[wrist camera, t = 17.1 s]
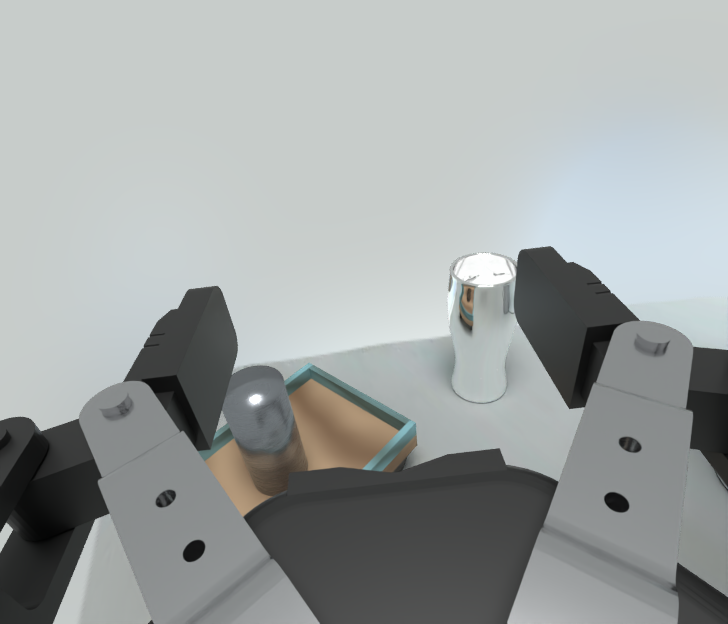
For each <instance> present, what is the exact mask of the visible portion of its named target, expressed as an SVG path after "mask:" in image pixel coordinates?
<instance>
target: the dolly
mask: <svg viewBox="0 0 728 624" xmlns="http://www.w3.org/2000/svg"><path fill="white" fill-rule="evenodd" d="M284 383H285V386H286V390H287V393H288V396H289V400H290V403H291V407H292V410H293V413H294V417H295V420H296V424H297V427H298V431H299V434H300V437H301V441H302V444H303V448H304V451H305V454H306V458H307V461H308V471H310V470H318V469H327V468H335V467H346V468H355V469H364V470H373V471H382V472H393V473H394V472H400V471H401V470H402V468H403V466H404V464H405V461H406V457H407V456H408V455H409V453H410V452H411V451H412V450H413V449H414V448H415V447H416V446H417V436H416V423H415V422H413V421H411V420H410V419H408V418H406V417H404V416H403V415H401V414H399V413H397V412H395V411H394V410H392V409H390V408H388V407H387V406H385V405H383V404H381V403H380V402H378V401H376V400H374V399H372V398H371V397H369V396H367V395H365V394H364V393H362V392H360V391H358V390H356V389H355V388H353V387H351V386H349V385H348V384H346V383H344V382H342V381H340V380H339V379H337V378H335V377H333V376H332V375H330V374H328V373H326V372H325V371H323V370H321V369H319V368H317V367H316V366H314V365H312V364H310V363H308V364H307V365H305V366H304V367H303V368H301V369H300V370H299V371H297V372H296V373H295V374H293V375H292V376H291V377H289V378H288V379H287V380H285V381H284ZM198 453H199V454H200V455H201V457H202V458H203V460H204V461H205V463H206V464H207V466H208V467H209V469H210V470H211V471H212V473H213V474H214V476H215V477H216V479H217V480H218V482H219V483H220V485H221V486H222V487H223V489H224V490H225V492H226V493H227V495H228V496H229V498H230V499H231V501H232V502H233V503H234V505H235V506H236V508H237V509H238V511H239V512H240V514H241V515H242V516H244V515H245V514H247V513H248V512H249V511H250V510H252V509H253V508H254V507H256V506H257V505H259V504H260V503H262V502H264V501H265V500H267V499H269V498H271V497H273V496H268V495H265V494H262V493H261V492H259V491H258V490H257V489H256V487H255V485H254V483H253V481H252V479H251V476H250V474H249V472H248V469H247V467H246V465H245V462H244V460H243V458H242V455H241V453H240V451H239V448H238V446H237V444H236V441H235V439H234V437H233V434H232V432H231V430H230V427H229V425H228V423H227V424H226V425H225V426H223V427H222V428H221V429H219V430H218V431H217V432H215V436H214V439H213V443H212V447H211V450H203V451H198Z"/></svg>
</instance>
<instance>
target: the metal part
mask: <svg viewBox="0 0 728 624" xmlns="http://www.w3.org/2000/svg"><path fill="white" fill-rule="evenodd" d="M222 411H223V413H224V416H225V418H226V420H227V423H228V425H229V427H230V430H231V432H232V434H233V437H234V439H235V441H236V444H237V446H238V448H239V451H240V453H241V455H242V458H243V460H244V462H245V465H246V467H247V469H248V472H249V474H250V476H251V479H252V481H253V483H254V485H255V487H256V489H257V490H258V491H259V492H261V493H262V494H265V495H268V496H275V495H277V494H279V493H281V492H284V491H286V490H288V480H289V473H292V472H301V471H308V461H307V458H306V454H305V451H304V448H303V444H302V441H301V437H300V434H299V431H298V427H297V424H296V420H295V417H294V413H293V410H292V407H291V403H290V400H289V396H288V393H287V390H286V386H285V383H284V379H283V376H282V374H281V373H280V372H279V371H278V370H276V369H275V368H272V367H269V366H252V367H248V368H245V369H242V370H240V371H238V372H236V373H234V374H233V375H231V378H230V382H229V385H228V389H227V393H226V396H225V400H224V403H223V407H222Z"/></svg>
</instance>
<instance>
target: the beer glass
mask: <svg viewBox="0 0 728 624" xmlns="http://www.w3.org/2000/svg"><path fill="white" fill-rule="evenodd" d="M516 271H517V262H516V261H515V260H513V259H512V258H509V257H507V256H504V255H501V254H496V253H473V254H468V255H465V256H462V257H460V258H458V259H456V260H455V261H454V262H453V263H452V264H451V266H450V276H449V287H448V302H447V305H448V320H449V328H450V332H451V337H452V342H453V346H454V352H455V366H454V370H453V374H452V378H451V384H452V387H453V389H454V391H455V392H456V393H457V394H458V395H459V396H460V397H462V398H464V399H466V400H468V401H471V402H476V403H487V402H491V401H494V400H497V399H498V398H500V397H501V396H502V395H503V394H504V392H505V390H506V387H507V381H506V374H505V360H506V356H507V352H508V349H509V347H510V344H511V341H512V338H513V335H514V332H515V328H516V324H517V319H516V316H515V312H514V291H515V281H516Z"/></svg>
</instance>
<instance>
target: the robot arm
mask: <svg viewBox="0 0 728 624" xmlns="http://www.w3.org/2000/svg"><path fill="white" fill-rule="evenodd" d="M514 312H515V316H516V319H517V322H518V324H519V325H520V327H521V329H522V330H523V332H524V334H525V335H526V337H527V339H528V340H529V342H530V344H531V345H532V347H533V349H534V350H535V352H536V354H537V356H538V357H539V359H540V361H541V362H542V364H543V366H544V367H545V369H546V371H547V372H548V374H549V376H550V377H551V379H552V381H553V382H554V384H555V386H556V387H557V389H558V391H559V392H560V394H561V396H562V398H563V399H564V401H565V403H566V404H567V406H568V408H569V409H573V408H582V407H585V409H584V412H583V414H582V417H581V420H580V423H579V426H578V429H577V432H576V434H575V437H574V440H573V443H572V446H571V449H570V451H569V454H568V457H567V460H566V463H565V466H564V468H563V471H562V474H561V477H560V480H559V482H558V481H556V480H554V479H552V478H550V477H548V476H545V475H543V474H541V473H538V472H535V471H532V470H529V469H525V468H521V467H516V466H511V465H506V464H505V462H504V459H503V456H502V454H501V451H500V448H499V449H490V450H481V451H473V452H464V453H456V454H447V455H445V456H442V457H439V458H436V459H434V460H431V461H428V462H425V463H422V464H420V465H417V466H414V467H411V468H408V469H406V470H403V471H400V472H394V473H393V472H382V471H373V470H364V469H355V468H346V467H335V468H327V469H318V470H310V471H301V472H292V473H289V480H288V490H286V491H284V492H281V493H279V494H277V495H275V496H273V497H271V498H269V499H267V500H265V501H264V502H262V503H260V504H259V505H257V506H256V507H254V508H253V509H252V510H250V511H249V512H248V513H247V514H245V515H244V516H242V515H241V514H240V512H239V511H238V509H237V508H236V506H235V505H234V503H233V502H232V501H231V499H230V498H229V496H228V495H227V493H226V492H225V490H224V489H223V487H222V486H221V485H220V483H219V482H218V480H217V479H216V477H215V476H214V474H213V473H212V471H211V470H210V469H209V467H208V466H207V464H206V463H205V461H204V460H203V458H202V457H201V455H200V454H199V453H198V451H203V450H211V447H212V443H213V439H214V436H215V432H216V429H217V425H218V421H219V418H220V414H221V411H222V407H223V403H224V400H225V396H226V393H227V389H228V385H229V382H230V378H231V375H232V371H233V367H234V364H235V360H236V357H237V351H238V347H237V346H238V344H237V336H236V332H235V329H234V326H233V323H232V321H231V317H230V314H229V311H228V308H227V305H226V302H225V300H224V296H223V293H222V291H221V289H220V288H219V287H218V286H212V287H204V288H196V289H189V290H188V291H187V292H186V294H185V296H184V298H183V300H182V302H181V304H180V306H179V308H178V309H174V310H170V311H169V312H168V313H167V314H166V315H165V316H163V317H162V318H161V319H160V320H159V321H158V322H157V323H156V325H155V327H154V328H153V330H152V332H151V334H150V338H148V339H147V341H146V343H145V344H144V348H143V349H142V350H141V351H140V353H139V355H138V357H137V358H136V360H135V362H134V364H133V366H132V368H131V369H130V371H129V373H128V374H127V376H126V378H125V380H124V381H123V382H122V383H118V384H116V385H113V386H110V387H108V388H106V389H104V390H102V391H101V392H99V393H98V394H97V395H95V396H94V397H92V398H91V399H90V400H89V401H88V402H87V403H86V404H85V406H84V407H83V409H82V410H81V412H80V415H79V419H77V420H74V421H71V422H68V423H65V424H62V425H59V426H56V427H53V428H50V429H47V430H44V431H40V430H39V429H38V427H37V426H36V425H35V423H34V422H33V421H32V420H31V419H29V418H26V417H13V418H8V419H5V420H2V421H0V532H1V530H2V529H3V527H4V525H5V523H6V522H7V523H8V524H9V525H10V526H11V527H12V528H13V531H12V533H11V535H10V537H9V538H8V540H7V542H6V544H5V545H4V547H3V549H2V551H1V553H0V624H53V621H54V619H55V617H56V614H57V612H58V609H59V607H60V604H61V602H62V599H63V597H64V594H65V592H66V590H67V587H68V585H69V582H70V580H71V577H72V575H73V572H74V570H75V567H76V565H77V562H78V560H79V558H80V555H81V552H82V550H83V548H84V545H85V543H86V540H87V538H88V535H89V533H90V531H91V528H92V526H93V523H94V520H95V519H97V518H99V517H102V516H104V515H107V514H109V513H110V515H111V518H112V520H113V523H114V525H115V528H116V530H117V533H118V535H119V538H120V540H121V543H122V545H123V548H124V550H125V553H126V555H127V558H128V560H129V563H130V565H131V568H132V570H133V573H134V575H135V578H136V580H137V583H138V585H139V588H140V590H141V593H142V596H143V598H144V601H145V603H146V606H147V608H148V611H149V613H150V616H151V618H152V620H151V621H150V622H149V623H148V624H728V597H727V596H725V595H724V594H722V593H721V592H719V591H718V590H716V589H715V588H714V587H712V586H711V585H709V584H708V583H706V582H705V581H703V580H702V579H701V578H699V577H698V576H696V575H695V574H693V573H692V572H690V571H689V570H688V569H686V568H685V567H683V566H682V565H680V564H679V563H677V559H678V550H679V541H680V532H681V523H682V514H683V505H684V495H685V486H686V477H687V468H688V459H689V450H690V449H697V450H700V451H701V452H702V454H703V455H704V456H705V458H706V459H707V460H708V462H709V463H710V464H711V466H712V467H713V468H714V469H715V471H716V473H717V475H718V477H719V478H720V480H721V481H722V483H723V484H724V485H725V487H726V488H727V489H728V350H722V349H710V348H699V347H693V346H692V343H691V342H690V340H689V339H688V338H687V337H686V336H685V335H683V334H682V333H681V332H679V331H677V330H675V329H673V328H671V327H669V326H666V325H663V324H659V323H655V322H649V321H640V320H639V319H638V318H637V317H636V316H635V315H634V314H633V313H632V312H631V311H630V310H629V309H628V308H627V307H626V306H625V305H624V304H623V303H622V302H621V301H620V300H619V299H618V298H617V297H616V296H615V295H614V294H613V293H611V292H610V290H609V289H608V288H607V287H606V286H605V285H604V284H602V283H601V281H600V280H599V279H598V278H597V277H596V276H595V275H594V274H593V273H592V272H591V271H590V270H588V269H586V268H584V267H582V266H580V265H578V264H576V263H574V262H570V263H567V262H566V261H565V260H564V259H563V258H562V257H561V256H560V255H559V254H558V253H557V251H556V250H555V249H554V248H553V247H551V246H549V247H540V248H533V249H524V250H521V251H520V253H519V255H518V261H517V271H516V281H515V291H514Z"/></svg>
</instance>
